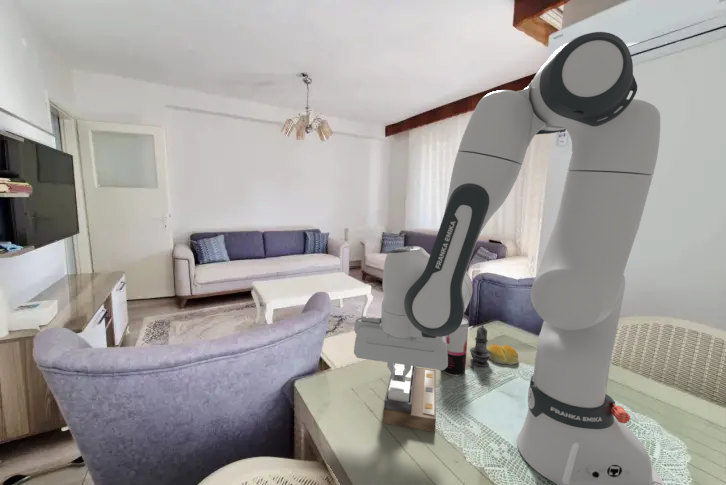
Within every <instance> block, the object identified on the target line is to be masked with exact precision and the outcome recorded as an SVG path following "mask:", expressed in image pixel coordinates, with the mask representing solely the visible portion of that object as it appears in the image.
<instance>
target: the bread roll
mask: <svg viewBox="0 0 726 485" xmlns="http://www.w3.org/2000/svg"><path fill="white" fill-rule="evenodd" d="M486 348H487V350H489V351H490V352H491V356H490V358H489V359H488V360H491V361H492V362H494V363H497V364H501V365H505V364H507V365H509V366H511V365H516V364H517V363H518V362H519V355H518V352H517V351H516V349H515V348H514V347H513V346H511V345H508V344H504V345H503V344H502V345H498V344H490V345H489V346H488V347H486Z"/></svg>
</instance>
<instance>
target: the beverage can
mask: <svg viewBox="0 0 726 485" xmlns="http://www.w3.org/2000/svg"><path fill="white" fill-rule="evenodd" d="M468 334H469V320H468V319H467V318H464V317H463V319H462V322H461V325H460V326H459V328H458V329H457V330H456V331H455V332H453V333H452V334H449V335H447V336H445V337H446V343H447V352H448V366H447V367H446V368H445V369H444V370H442V371H443V372H444V373H445V374H447V375H449V376H454V377H457V376H458V377H460V376H462V375H463V374H465V372H466V364H467V362H466V361H467V351H468V350H467V348H468V336H469V335H468Z"/></svg>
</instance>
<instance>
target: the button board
mask: <svg viewBox="0 0 726 485" xmlns="http://www.w3.org/2000/svg"><path fill="white" fill-rule="evenodd" d="M394 365H395V363H394ZM436 370H437V369H430V368H423V367H416V366H413V372H412V380H411V386H410V396H409V403H406V402H400V401H394V400H388V390H389V386H390V382H391V379H392V374H391V373H390V377H389V380H388V385H387V388H386V392H385V396H384V400H383V402H384V405H383V412H382V413H383V414H382V424H386V425H387V424H388V425H392V426H398V427H403V428H409V429H416V430H421V431H427V432H432V433H435V432H436V423H437V422H436V420H437V413H436V412H437V406H436V403H437V399H436V396H437V395H436V394H437V393H436V391H437V390H436V388H437V387H436V385H437V384H436V380H437V379H436Z"/></svg>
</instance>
